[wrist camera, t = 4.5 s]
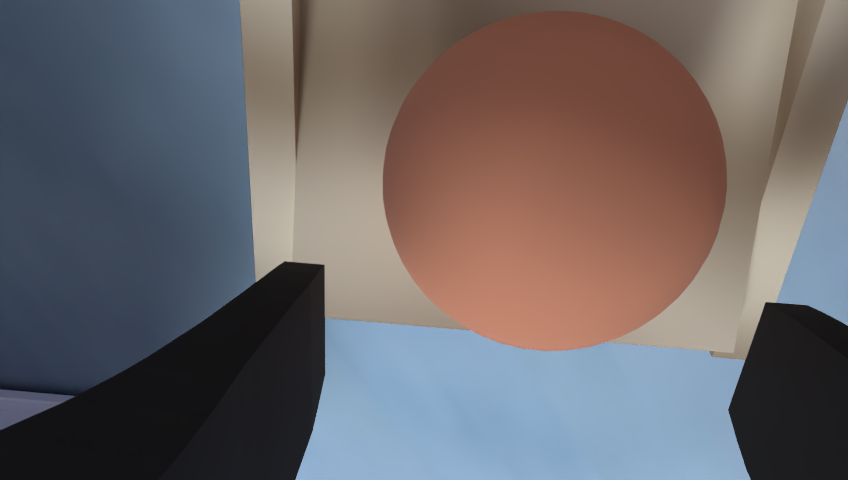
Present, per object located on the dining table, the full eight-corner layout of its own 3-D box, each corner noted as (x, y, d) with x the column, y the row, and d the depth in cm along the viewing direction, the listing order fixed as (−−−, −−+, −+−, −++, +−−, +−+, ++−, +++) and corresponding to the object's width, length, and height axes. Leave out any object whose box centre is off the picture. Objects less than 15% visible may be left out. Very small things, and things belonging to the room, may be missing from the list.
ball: (662, 374, 12) (831, 327, 7) (379, 361, 12) (360, 307, 7) (646, 119, 13) (778, -63, 9) (394, 107, 13) (386, -81, 9)
